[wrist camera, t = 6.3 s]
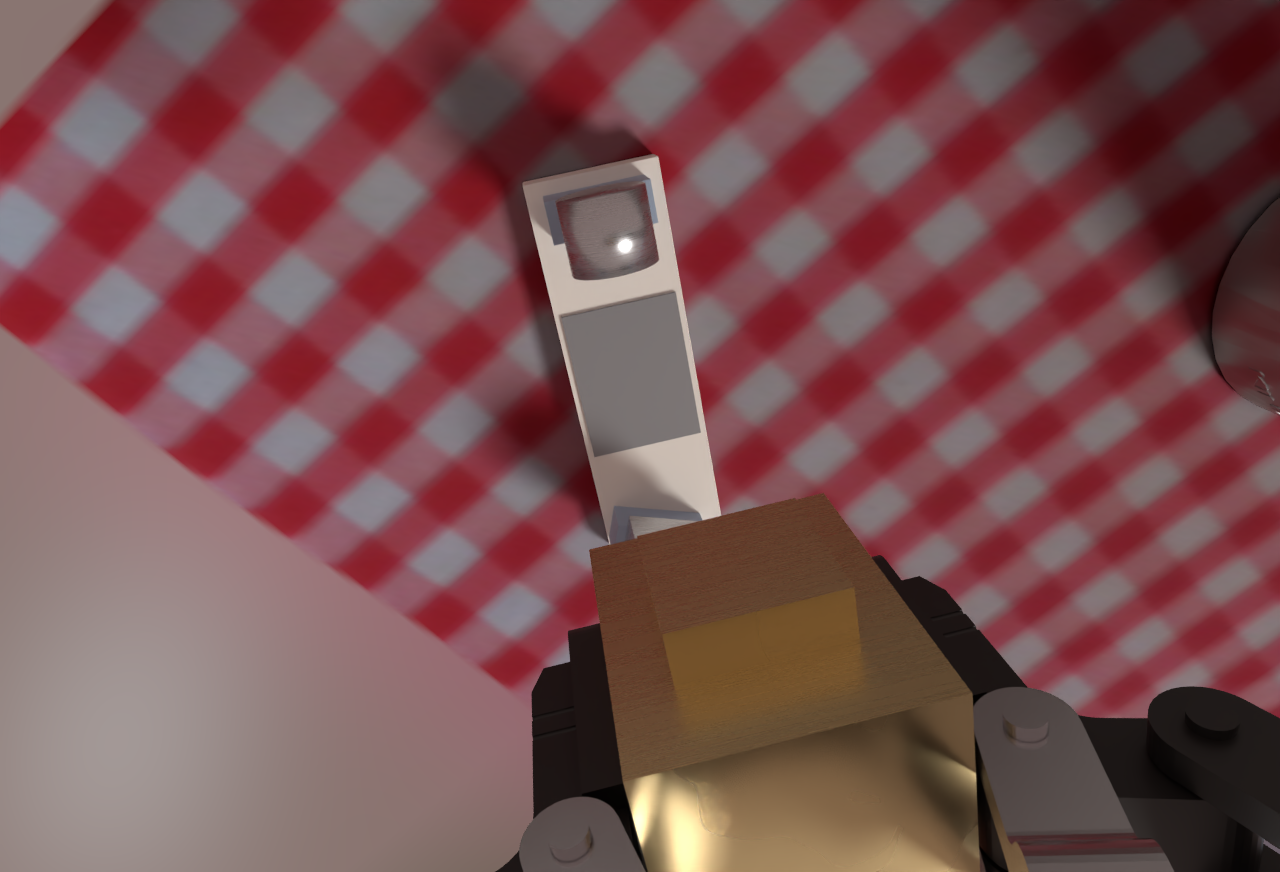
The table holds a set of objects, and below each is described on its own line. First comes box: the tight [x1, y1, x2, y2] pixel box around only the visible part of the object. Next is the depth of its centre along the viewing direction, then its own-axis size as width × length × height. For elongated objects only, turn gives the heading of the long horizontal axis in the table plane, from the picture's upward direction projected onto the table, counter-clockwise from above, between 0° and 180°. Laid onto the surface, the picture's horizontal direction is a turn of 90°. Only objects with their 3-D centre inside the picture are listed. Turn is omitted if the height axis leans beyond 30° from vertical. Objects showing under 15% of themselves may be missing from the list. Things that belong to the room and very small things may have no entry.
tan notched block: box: [589, 493, 980, 872], centre depth 12 cm, size 6×4×5 cm
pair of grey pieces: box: [555, 181, 698, 541], centre depth 24 cm, size 13×3×2 cm, turn 11°
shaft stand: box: [522, 154, 721, 545], centre depth 26 cm, size 13×4×2 cm, turn 11°
